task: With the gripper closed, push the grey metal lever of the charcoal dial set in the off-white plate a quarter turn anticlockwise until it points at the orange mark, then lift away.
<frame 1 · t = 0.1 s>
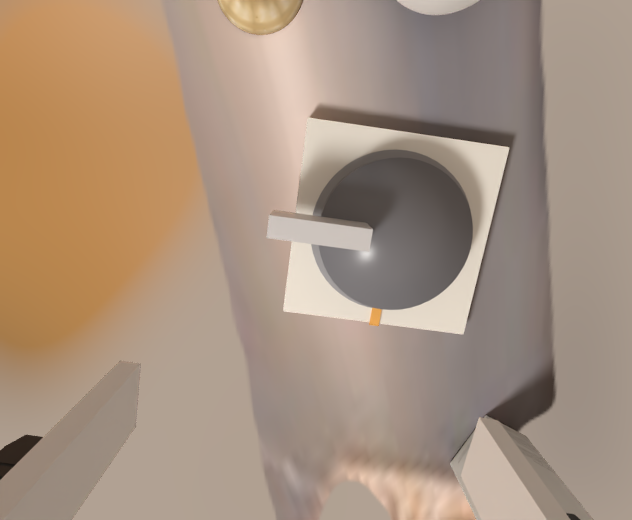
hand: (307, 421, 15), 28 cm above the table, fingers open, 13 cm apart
dial plate: (388, 230, 41), on the table
dial: (374, 235, 36), point 5 cm above the table, hinge at -90.0°
skincare box: (485, 446, 48), on the table
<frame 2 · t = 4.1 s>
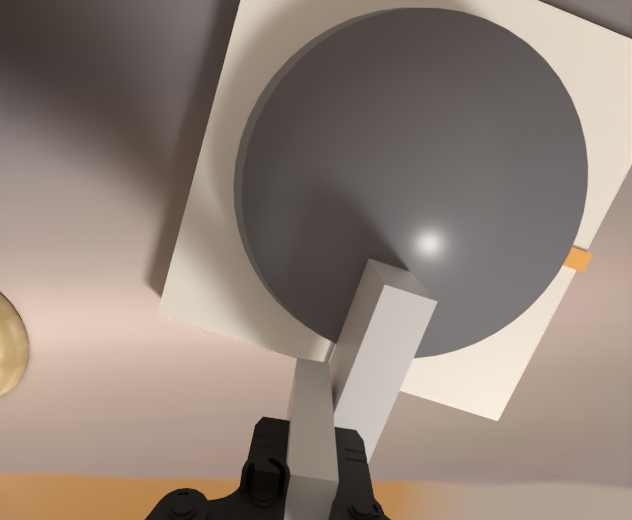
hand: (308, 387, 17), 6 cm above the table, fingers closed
dial plate: (395, 195, 21), on the table
dial: (400, 254, 16), point 5 cm above the table, hinge at -89.3°, touching gripper
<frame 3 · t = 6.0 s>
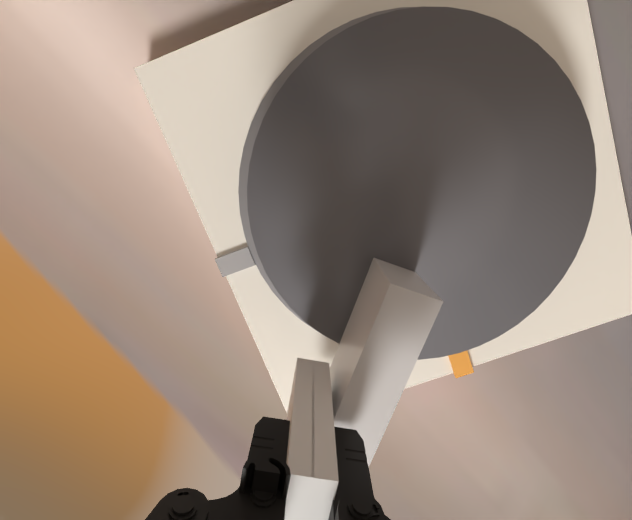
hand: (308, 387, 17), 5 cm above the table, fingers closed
dial plate: (401, 195, 20), on the table
dial: (405, 254, 16), point 5 cm above the table, hinge at -40.0°, touching gripper
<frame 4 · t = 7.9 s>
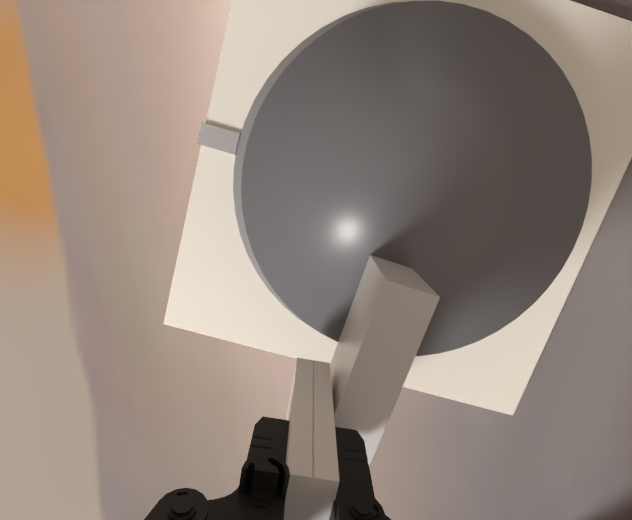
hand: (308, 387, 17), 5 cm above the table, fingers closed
dial plate: (396, 191, 20), on the table
dial: (402, 250, 16), point 5 cm above the table, hinge at -1.9°, touching gripper
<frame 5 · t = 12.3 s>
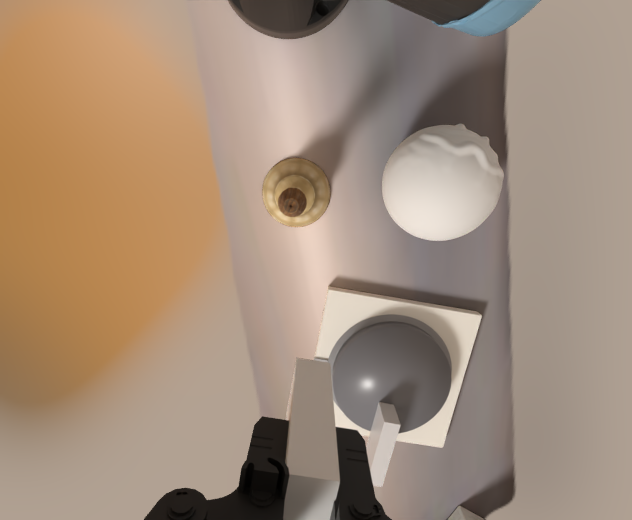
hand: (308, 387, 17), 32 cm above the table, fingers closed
hand bell: (296, 192, 47), on the table
decorative ball: (423, 182, 47), on the table
dial plate: (386, 367, 53), on the table
dial: (389, 402, 48), point 5 cm above the table, hinge at -1.8°
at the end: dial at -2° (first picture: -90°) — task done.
